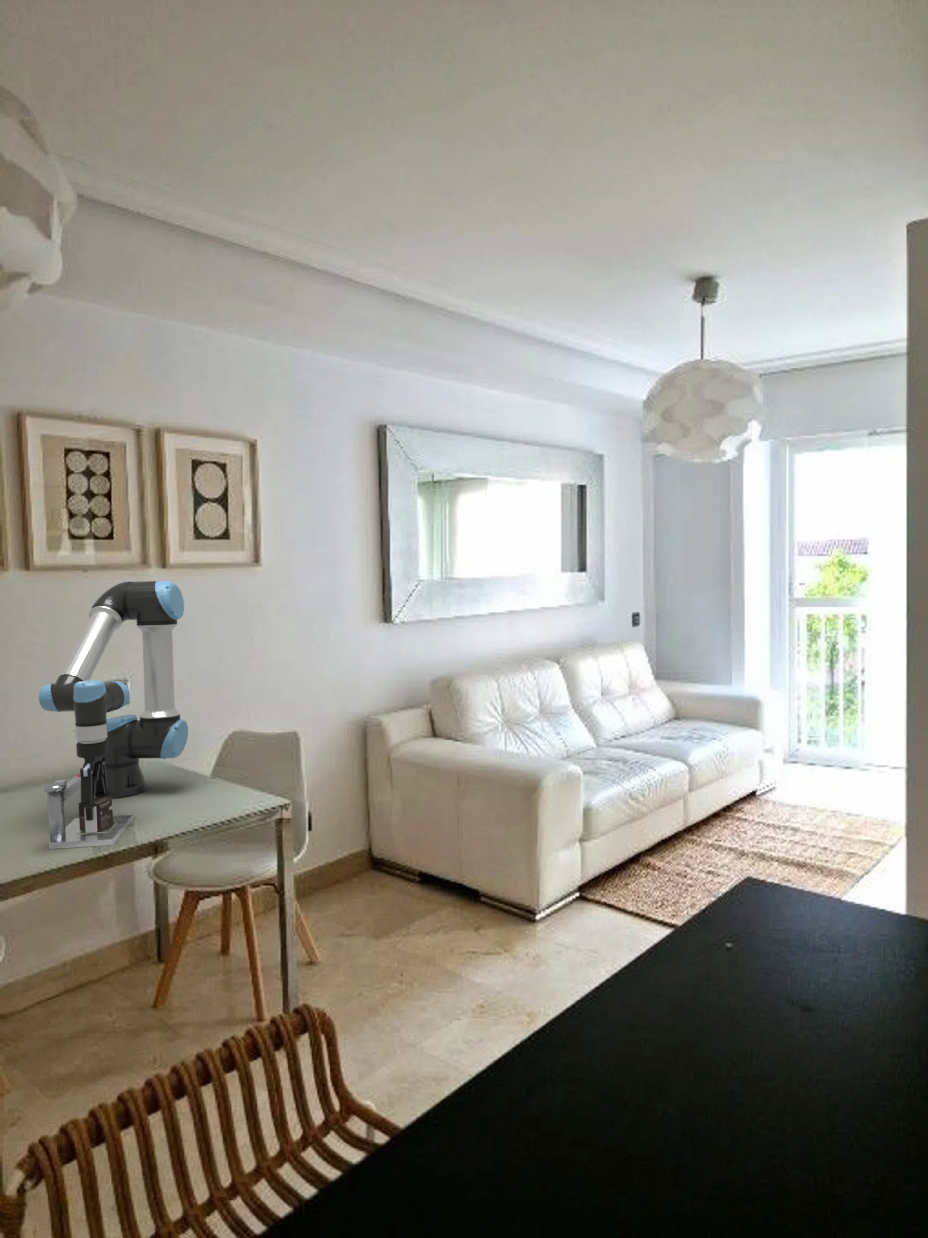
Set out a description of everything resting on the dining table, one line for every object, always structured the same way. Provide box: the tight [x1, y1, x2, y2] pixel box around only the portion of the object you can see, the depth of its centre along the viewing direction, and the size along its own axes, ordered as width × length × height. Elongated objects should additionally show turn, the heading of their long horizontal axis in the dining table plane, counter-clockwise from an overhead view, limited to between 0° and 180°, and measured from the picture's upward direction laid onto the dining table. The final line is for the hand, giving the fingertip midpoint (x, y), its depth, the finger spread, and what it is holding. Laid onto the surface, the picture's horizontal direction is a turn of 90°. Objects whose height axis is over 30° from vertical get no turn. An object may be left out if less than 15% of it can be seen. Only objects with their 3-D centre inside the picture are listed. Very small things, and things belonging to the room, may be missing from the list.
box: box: [78, 796, 114, 831], centre depth 220 cm, size 6×6×7 cm
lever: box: [43, 773, 81, 803], centre depth 220 cm, size 23×5×5 cm, turn 7°
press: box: [46, 790, 134, 850], centre depth 220 cm, size 20×15×14 cm
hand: (96, 826), depth 220 cm, fingers open, 8 cm apart
